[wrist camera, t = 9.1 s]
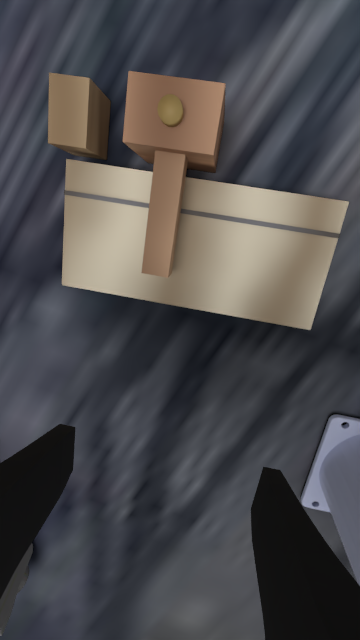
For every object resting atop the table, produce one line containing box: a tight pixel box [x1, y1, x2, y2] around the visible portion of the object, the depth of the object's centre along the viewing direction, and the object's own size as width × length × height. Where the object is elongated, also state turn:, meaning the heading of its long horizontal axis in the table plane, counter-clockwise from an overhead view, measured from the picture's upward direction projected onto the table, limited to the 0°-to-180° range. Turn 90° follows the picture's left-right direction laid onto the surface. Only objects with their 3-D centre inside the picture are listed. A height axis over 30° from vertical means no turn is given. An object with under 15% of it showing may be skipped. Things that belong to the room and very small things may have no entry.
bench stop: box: [48, 73, 111, 160], centre depth 17 cm, size 2×3×3 cm, turn 171°
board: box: [62, 159, 349, 330], centre depth 18 cm, size 15×7×2 cm, turn 81°
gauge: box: [123, 71, 225, 278], centre depth 16 cm, size 4×8×6 cm, turn 171°
